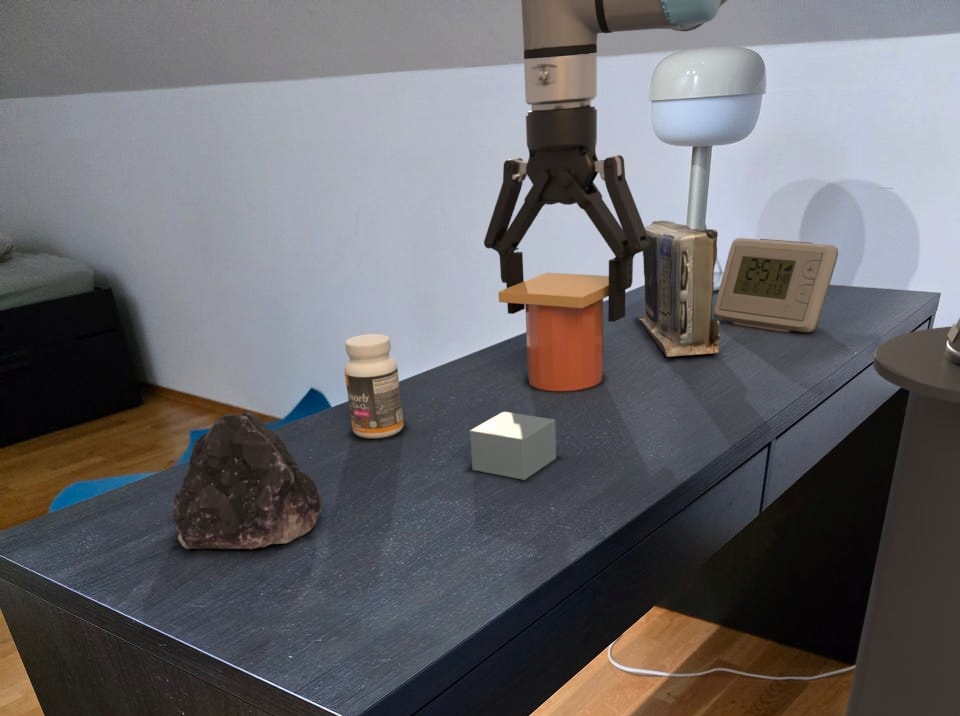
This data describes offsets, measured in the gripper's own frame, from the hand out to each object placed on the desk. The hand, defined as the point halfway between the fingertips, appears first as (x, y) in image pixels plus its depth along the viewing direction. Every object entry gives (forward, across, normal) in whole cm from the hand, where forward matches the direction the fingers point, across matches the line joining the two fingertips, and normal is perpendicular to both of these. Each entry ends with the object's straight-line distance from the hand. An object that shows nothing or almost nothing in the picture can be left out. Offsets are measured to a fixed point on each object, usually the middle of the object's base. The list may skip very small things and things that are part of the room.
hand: (564, 315), depth 104 cm
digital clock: (+8, +14, +33) cm, 37 cm away
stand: (+8, +9, -26) cm, 29 cm away
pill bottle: (+8, -10, -24) cm, 27 cm away
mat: (-2, 0, 0) cm, 2 cm away
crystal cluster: (+8, -5, -48) cm, 49 cm away
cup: (+8, 0, 0) cm, 8 cm away
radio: (+8, +4, +22) cm, 24 cm away
